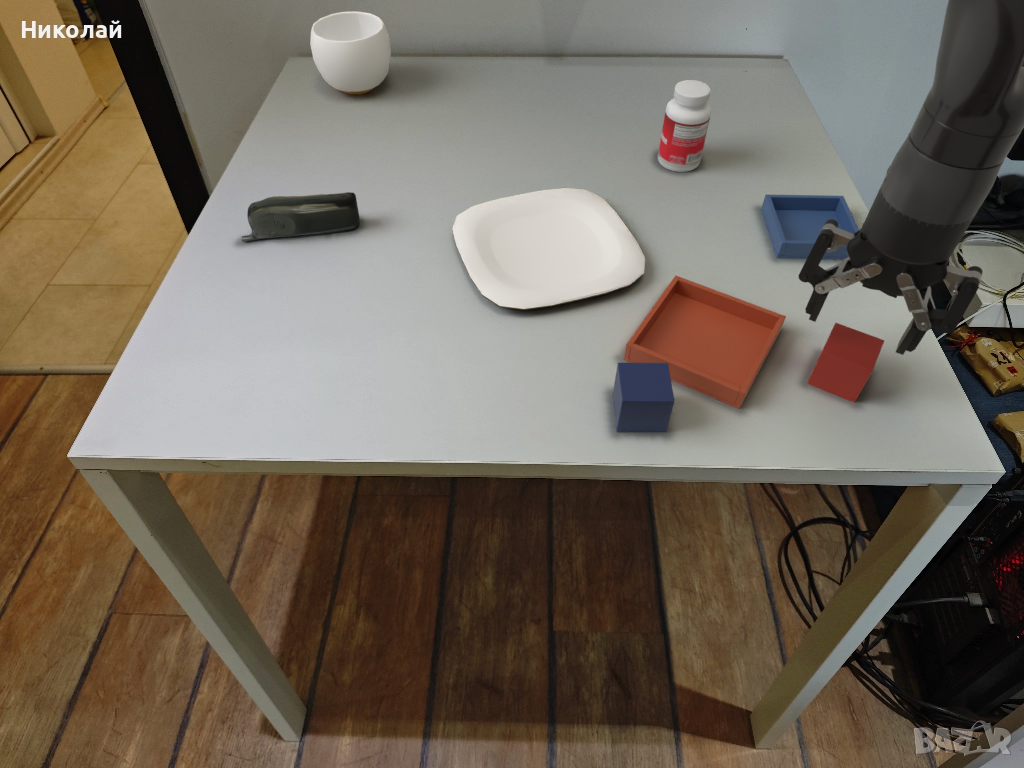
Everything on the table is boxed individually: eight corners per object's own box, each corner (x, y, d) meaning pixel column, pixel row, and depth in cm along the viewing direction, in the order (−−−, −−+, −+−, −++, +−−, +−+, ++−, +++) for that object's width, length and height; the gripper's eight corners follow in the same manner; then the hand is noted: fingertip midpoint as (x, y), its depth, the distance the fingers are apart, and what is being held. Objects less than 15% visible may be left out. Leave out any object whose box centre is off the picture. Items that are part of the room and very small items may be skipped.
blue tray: (837, 211, 97) (843, 195, 95) (858, 260, 90) (866, 244, 88) (760, 210, 97) (765, 194, 95) (776, 258, 90) (782, 242, 88)
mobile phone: (354, 186, 92) (232, 199, 90) (356, 200, 90) (231, 213, 88) (359, 218, 96) (242, 231, 93) (361, 232, 94) (242, 246, 91)
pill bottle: (661, 146, 107) (674, 74, 99) (703, 154, 106) (719, 81, 97) (653, 169, 103) (665, 95, 95) (696, 177, 102) (712, 102, 93)
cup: (309, 102, 116) (296, 41, 108) (332, 66, 124) (321, 7, 116) (384, 107, 114) (376, 46, 107) (402, 71, 122) (396, 11, 115)
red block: (866, 372, 78) (884, 340, 74) (854, 403, 75) (872, 371, 71) (820, 354, 79) (835, 322, 76) (806, 384, 77) (822, 351, 73)
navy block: (660, 394, 76) (667, 362, 72) (666, 433, 72) (674, 401, 68) (612, 394, 76) (617, 362, 72) (616, 432, 72) (622, 400, 69)
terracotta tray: (779, 332, 82) (786, 316, 80) (739, 409, 74) (745, 393, 72) (671, 291, 86) (675, 275, 84) (623, 360, 79) (626, 344, 77)
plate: (592, 189, 100) (593, 178, 99) (662, 288, 86) (664, 277, 85) (441, 219, 95) (440, 208, 94) (489, 329, 82) (489, 318, 81)
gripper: (831, 189, 60) (775, 328, 72) (1018, 247, 55) (923, 385, 67) (854, 147, 64) (797, 285, 76) (1029, 198, 59) (938, 336, 71)
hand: (856, 332), depth 72 cm, fingers open, 8 cm apart
